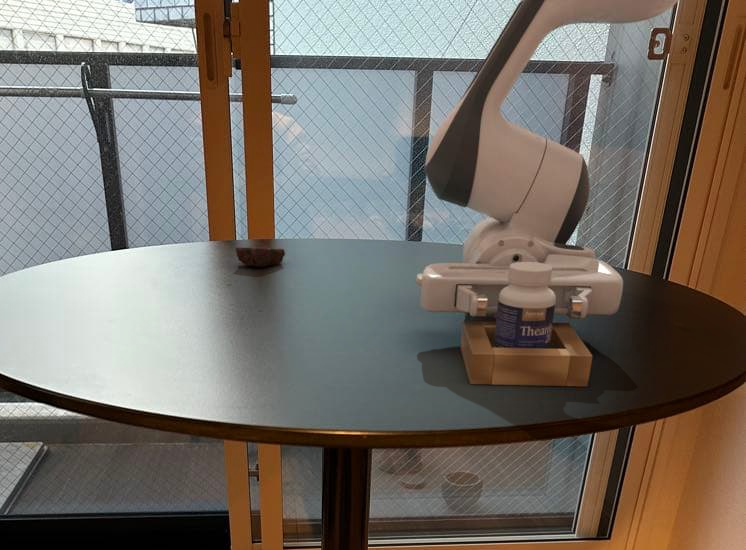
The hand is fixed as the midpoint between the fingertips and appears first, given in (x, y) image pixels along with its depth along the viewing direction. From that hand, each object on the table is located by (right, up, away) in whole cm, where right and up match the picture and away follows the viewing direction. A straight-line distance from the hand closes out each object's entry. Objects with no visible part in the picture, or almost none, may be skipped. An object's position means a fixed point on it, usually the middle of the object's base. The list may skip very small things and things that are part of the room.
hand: (529, 309), depth 76 cm
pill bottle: (0, -5, +4) cm, 6 cm away
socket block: (0, -5, +4) cm, 6 cm away
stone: (-30, +19, +44) cm, 56 cm away
